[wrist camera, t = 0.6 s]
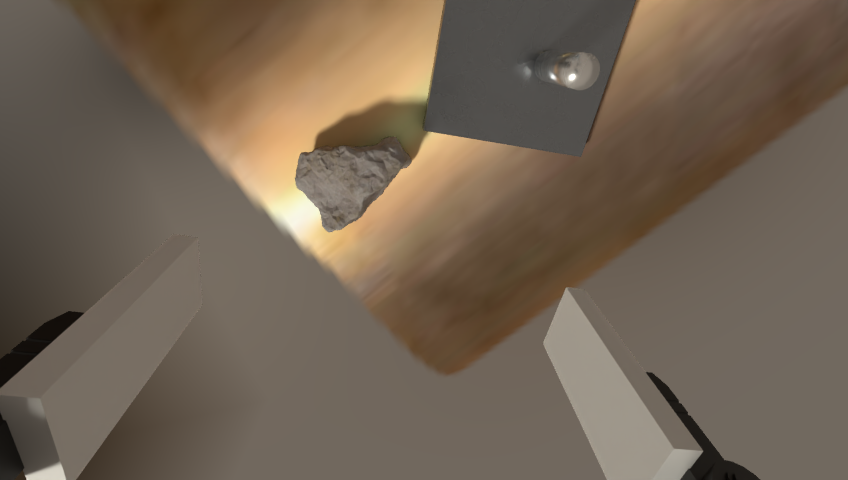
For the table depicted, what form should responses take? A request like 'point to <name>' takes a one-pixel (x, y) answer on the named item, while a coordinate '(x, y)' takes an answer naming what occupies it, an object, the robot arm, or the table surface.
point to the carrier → (524, 70)
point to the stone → (348, 178)
